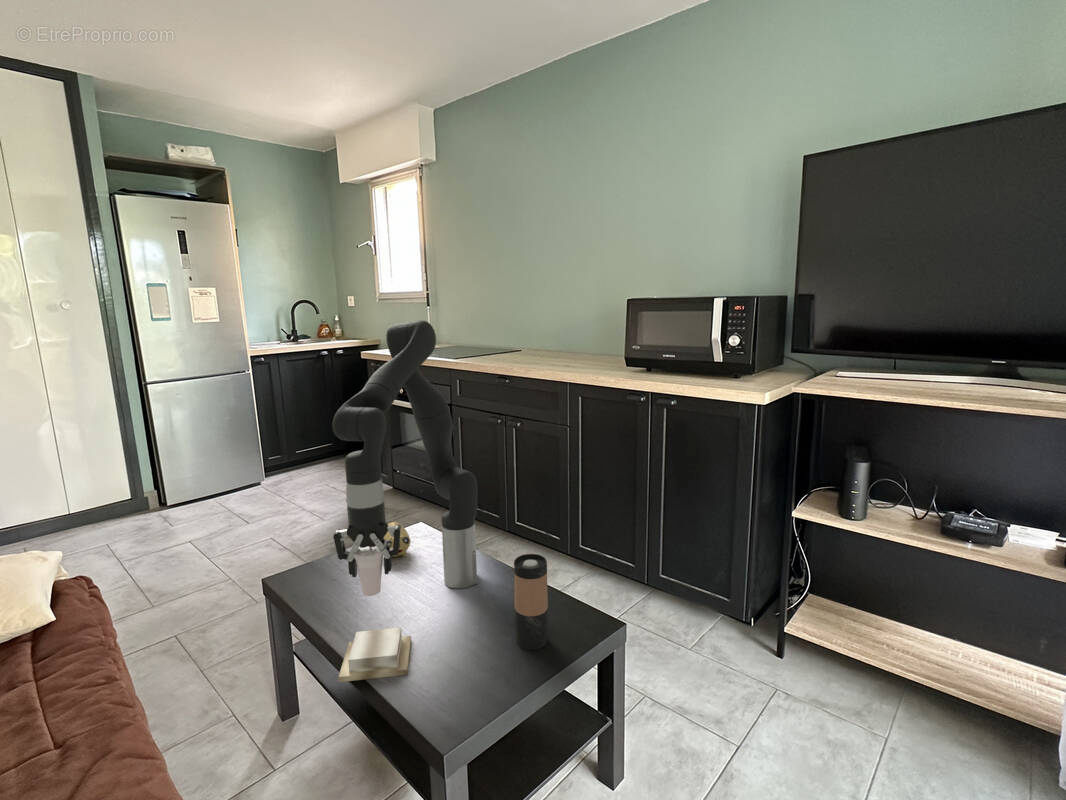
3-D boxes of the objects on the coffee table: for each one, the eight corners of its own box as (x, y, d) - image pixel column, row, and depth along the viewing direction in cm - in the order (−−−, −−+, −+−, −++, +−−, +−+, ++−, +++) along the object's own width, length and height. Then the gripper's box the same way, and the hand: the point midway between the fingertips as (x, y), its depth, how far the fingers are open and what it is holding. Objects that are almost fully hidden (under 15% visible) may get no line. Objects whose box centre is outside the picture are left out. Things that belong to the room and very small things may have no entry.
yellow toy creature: (382, 567, 161) (380, 534, 159) (377, 551, 172) (375, 520, 170) (415, 561, 165) (413, 529, 163) (408, 545, 176) (406, 515, 174)
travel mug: (552, 634, 127) (551, 556, 124) (542, 654, 120) (541, 571, 117) (522, 628, 130) (520, 551, 126) (510, 647, 123) (508, 566, 119)
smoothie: (393, 587, 118) (389, 527, 115) (372, 602, 112) (368, 539, 109) (370, 581, 120) (366, 523, 118) (349, 595, 115) (344, 534, 112)
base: (411, 640, 126) (410, 624, 125) (407, 674, 114) (406, 656, 113) (349, 646, 124) (348, 630, 123) (338, 682, 112) (337, 664, 111)
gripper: (402, 492, 117) (406, 563, 120) (333, 496, 115) (339, 568, 118) (398, 504, 110) (403, 579, 113) (325, 509, 108) (332, 585, 111)
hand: (370, 573), depth 115 cm, fingers closed on smoothie, 6 cm apart
